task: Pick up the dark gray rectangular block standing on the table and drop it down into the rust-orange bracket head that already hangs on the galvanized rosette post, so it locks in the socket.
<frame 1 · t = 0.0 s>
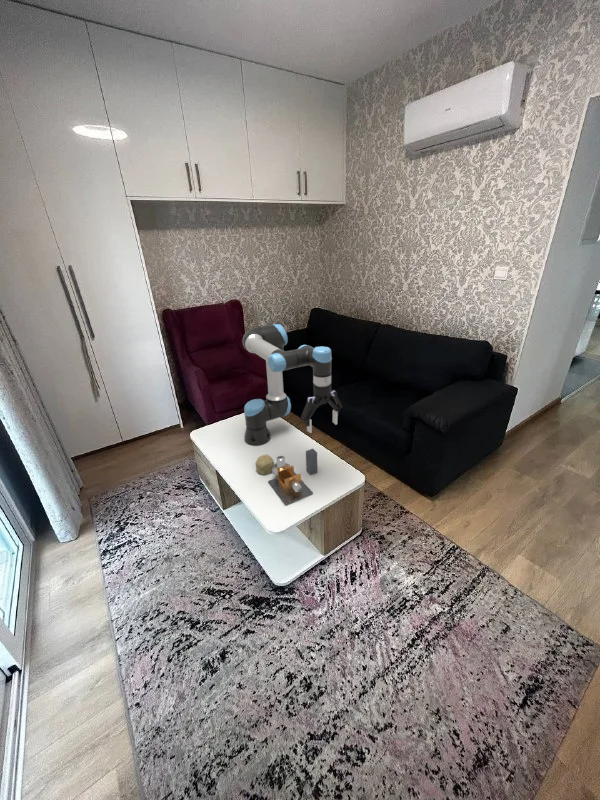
hand: (322, 427, 148), 28 cm above the table, fingers open, 13 cm apart
dark gray rectangular block: (311, 471, 164), on the table
decorative object: (265, 469, 167), on the table
rosette bracket: (289, 488, 154), on the table
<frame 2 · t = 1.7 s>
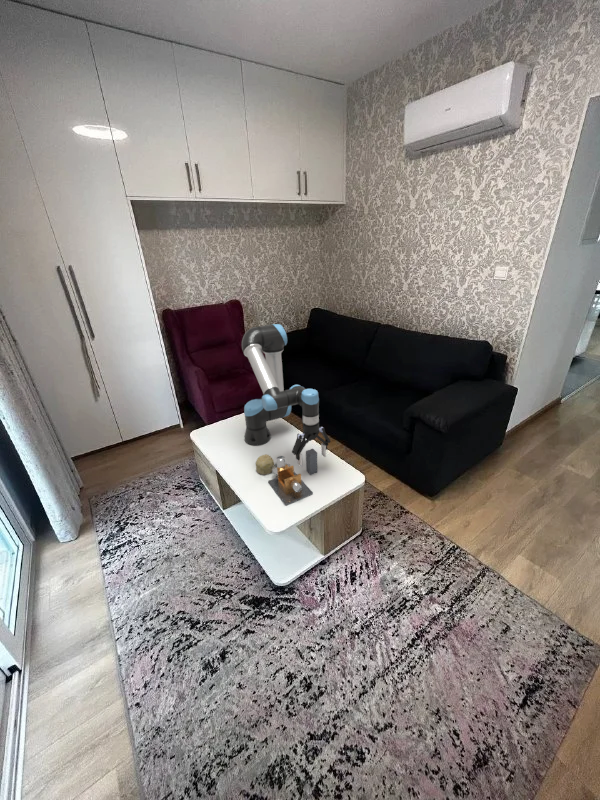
hand: (311, 460, 160), 7 cm above the table, fingers open, 13 cm apart
nothing on the table moved.
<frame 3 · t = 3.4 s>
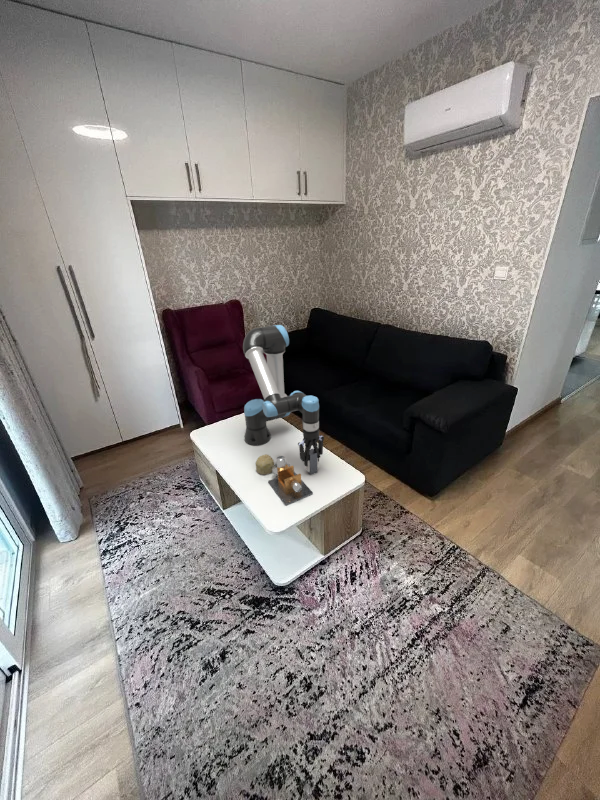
hand: (311, 468, 163), 2 cm above the table, fingers closed on dark gray rectangular block, 4 cm apart
dark gray rectangular block: (311, 471, 164), on the table, touching gripper
everything else where it was.
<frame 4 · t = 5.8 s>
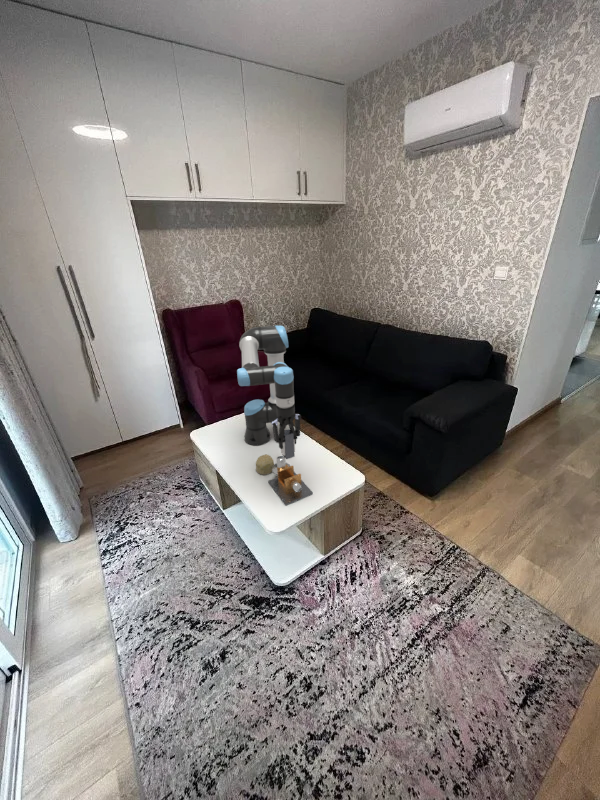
hand: (288, 452, 145), 20 cm above the table, fingers closed on dark gray rectangular block, 4 cm apart
dark gray rectangular block: (288, 455, 145), point 18 cm above the table, touching gripper
everything else where it was.
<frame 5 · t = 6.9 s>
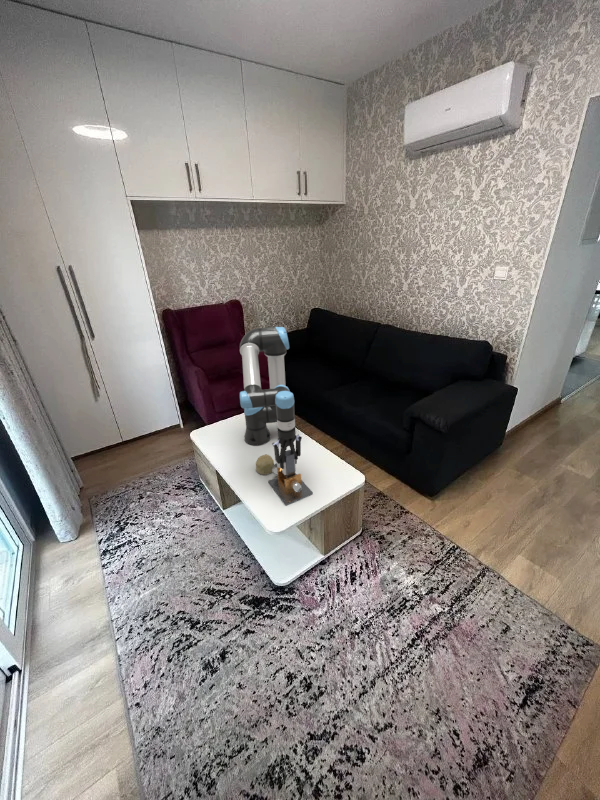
hand: (289, 471, 149), 10 cm above the table, fingers closed on dark gray rectangular block, 4 cm apart
dark gray rectangular block: (289, 475, 150), point 8 cm above the table, touching gripper
everything else where it was.
when the fingers open (5 cm above the table, at t = 8.1 s): dark gray rectangular block drops 3 cm, resting on rosette bracket.
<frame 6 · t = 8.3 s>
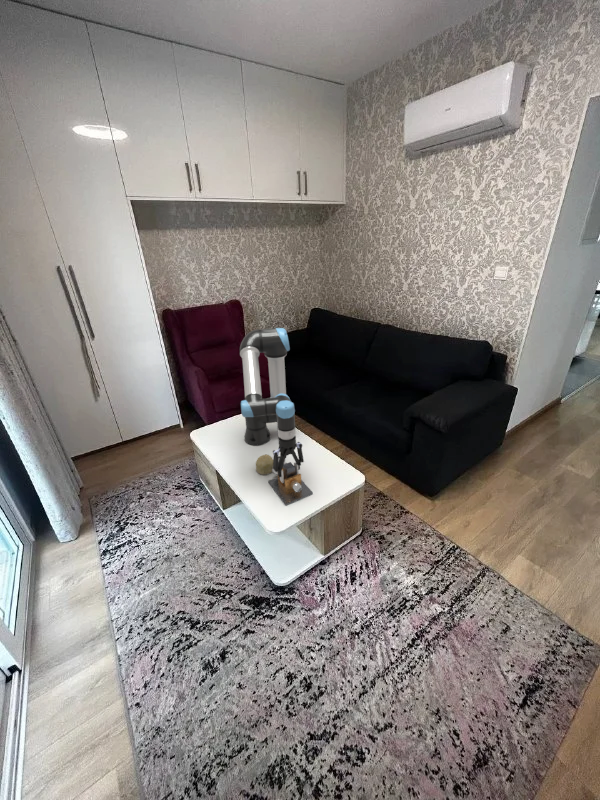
hand: (289, 478, 151), 6 cm above the table, fingers open, 7 cm apart
dark gray rectangular block: (289, 486, 153), point 1 cm above the table, touching rosette bracket
everything else where it was.
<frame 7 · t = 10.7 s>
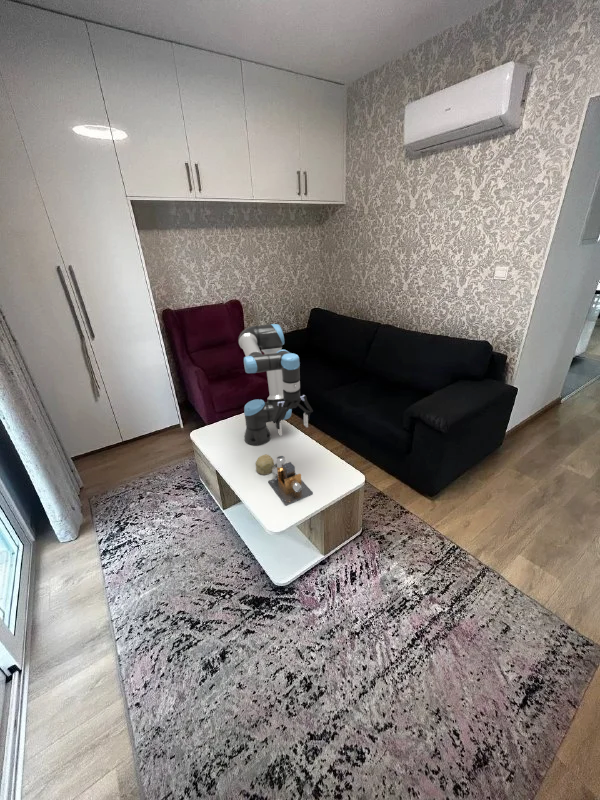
hand: (293, 430, 154), 24 cm above the table, fingers open, 13 cm apart
nothing on the table moved.
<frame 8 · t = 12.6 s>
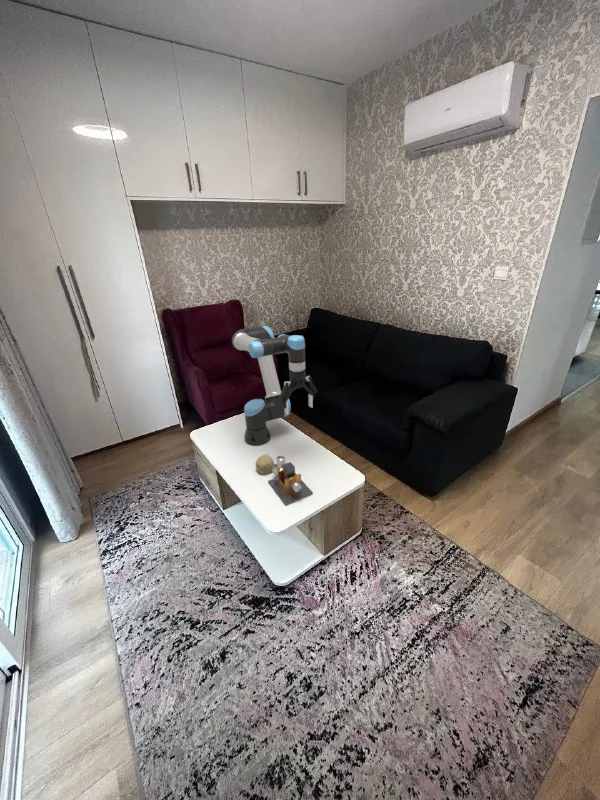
hand: (298, 410, 162), 29 cm above the table, fingers open, 13 cm apart
nothing on the table moved.
at the end: dark gray rectangular block 0.0 cm off-centre on the rosette bracket, point 1.0 cm above the rosette bracket's base; dark gray rectangular block tilted 0°; the gripper is holding nothing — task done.
